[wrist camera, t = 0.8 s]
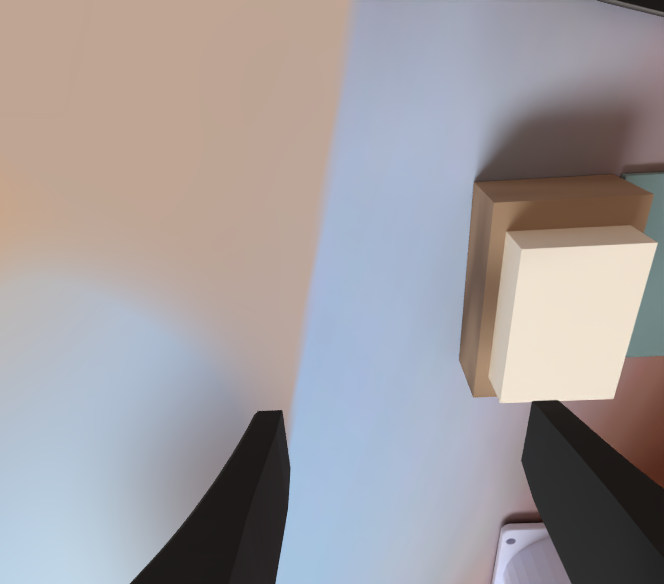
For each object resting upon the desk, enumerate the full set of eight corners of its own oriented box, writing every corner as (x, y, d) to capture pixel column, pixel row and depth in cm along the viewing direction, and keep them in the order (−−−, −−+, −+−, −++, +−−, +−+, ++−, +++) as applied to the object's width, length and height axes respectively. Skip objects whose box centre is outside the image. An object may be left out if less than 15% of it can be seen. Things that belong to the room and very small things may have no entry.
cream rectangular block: (593, 372, 18) (613, 399, 17) (488, 377, 18) (500, 403, 17) (630, 225, 15) (658, 242, 14) (506, 231, 16) (521, 249, 14)
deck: (573, 355, 21) (601, 392, 19) (459, 359, 21) (473, 397, 19) (613, 174, 17) (653, 194, 15) (473, 182, 17) (494, 202, 15)
